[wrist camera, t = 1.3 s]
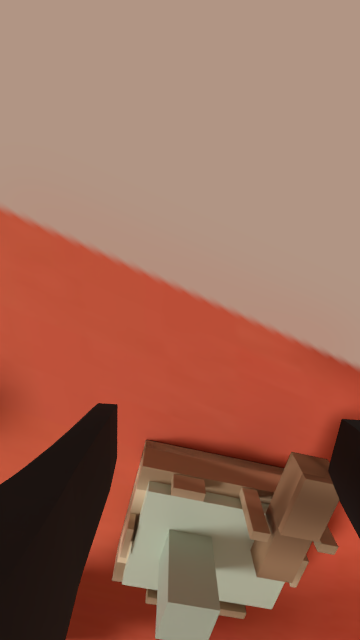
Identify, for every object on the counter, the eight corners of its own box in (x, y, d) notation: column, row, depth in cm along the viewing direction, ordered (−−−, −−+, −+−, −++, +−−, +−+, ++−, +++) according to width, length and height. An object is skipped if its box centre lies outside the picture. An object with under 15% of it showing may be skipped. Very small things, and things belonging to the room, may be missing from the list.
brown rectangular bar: (282, 555, 20) (294, 590, 18) (250, 549, 20) (258, 584, 18) (327, 459, 18) (345, 486, 16) (291, 451, 18) (305, 478, 16)
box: (263, 571, 25) (286, 661, 20) (118, 545, 24) (102, 633, 19) (307, 473, 23) (347, 547, 17) (146, 439, 22) (136, 507, 16)
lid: (268, 596, 23) (292, 690, 18) (123, 571, 22) (109, 664, 17) (308, 512, 20) (346, 594, 16) (149, 480, 20) (141, 558, 15)
